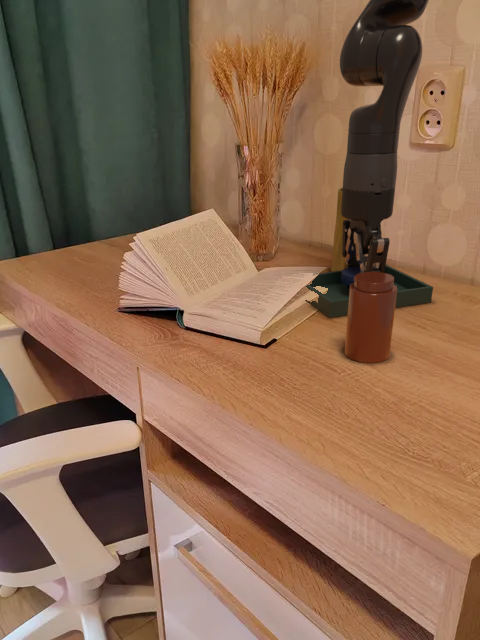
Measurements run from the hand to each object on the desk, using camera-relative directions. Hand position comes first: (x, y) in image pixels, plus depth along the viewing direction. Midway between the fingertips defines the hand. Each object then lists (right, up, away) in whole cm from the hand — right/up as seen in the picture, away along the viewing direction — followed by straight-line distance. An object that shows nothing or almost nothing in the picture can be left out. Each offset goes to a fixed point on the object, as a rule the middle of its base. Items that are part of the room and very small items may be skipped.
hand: (359, 292), depth 96 cm
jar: (-4, -11, -19) cm, 22 cm away
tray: (0, -1, 0) cm, 1 cm away
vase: (+1, +6, +13) cm, 14 cm away
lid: (0, +3, -1) cm, 3 cm away
